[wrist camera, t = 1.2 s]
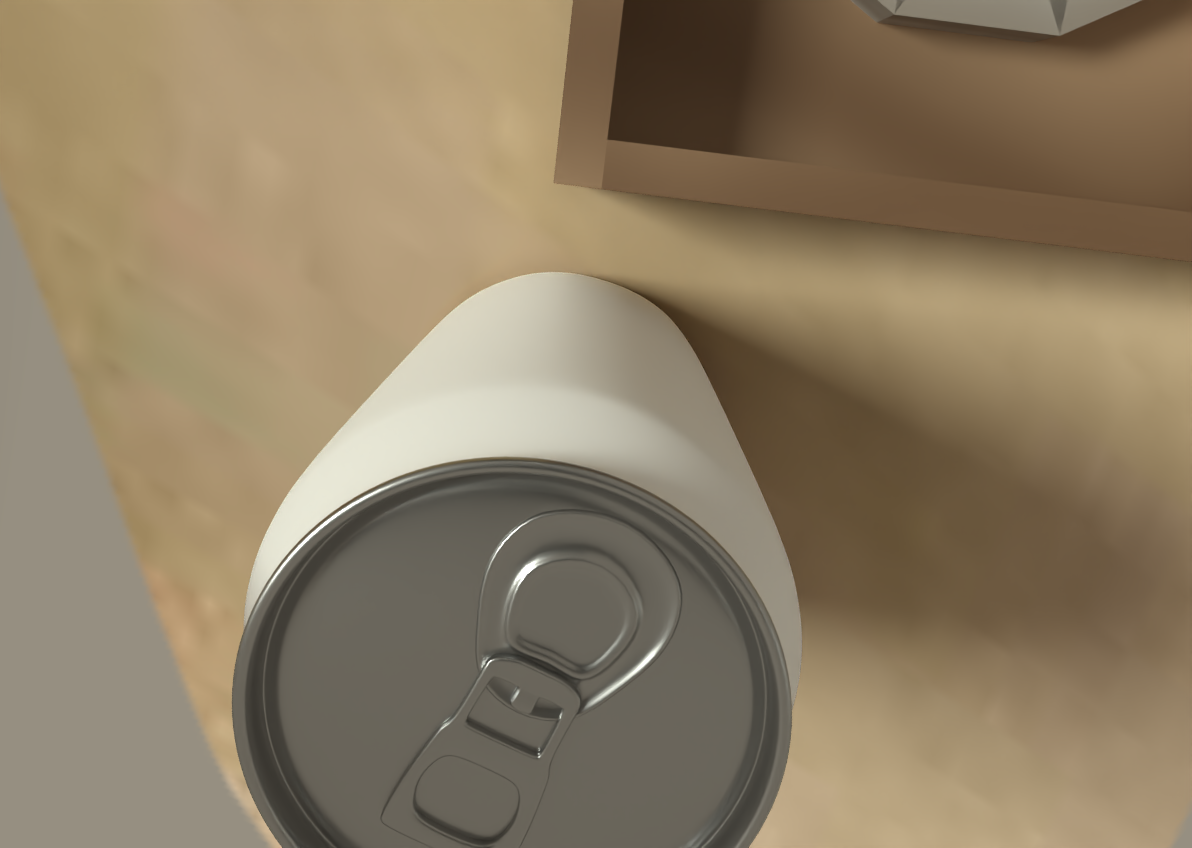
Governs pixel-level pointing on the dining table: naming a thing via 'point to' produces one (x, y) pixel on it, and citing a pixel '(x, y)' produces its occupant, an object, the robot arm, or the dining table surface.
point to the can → (524, 599)
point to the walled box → (895, 113)
